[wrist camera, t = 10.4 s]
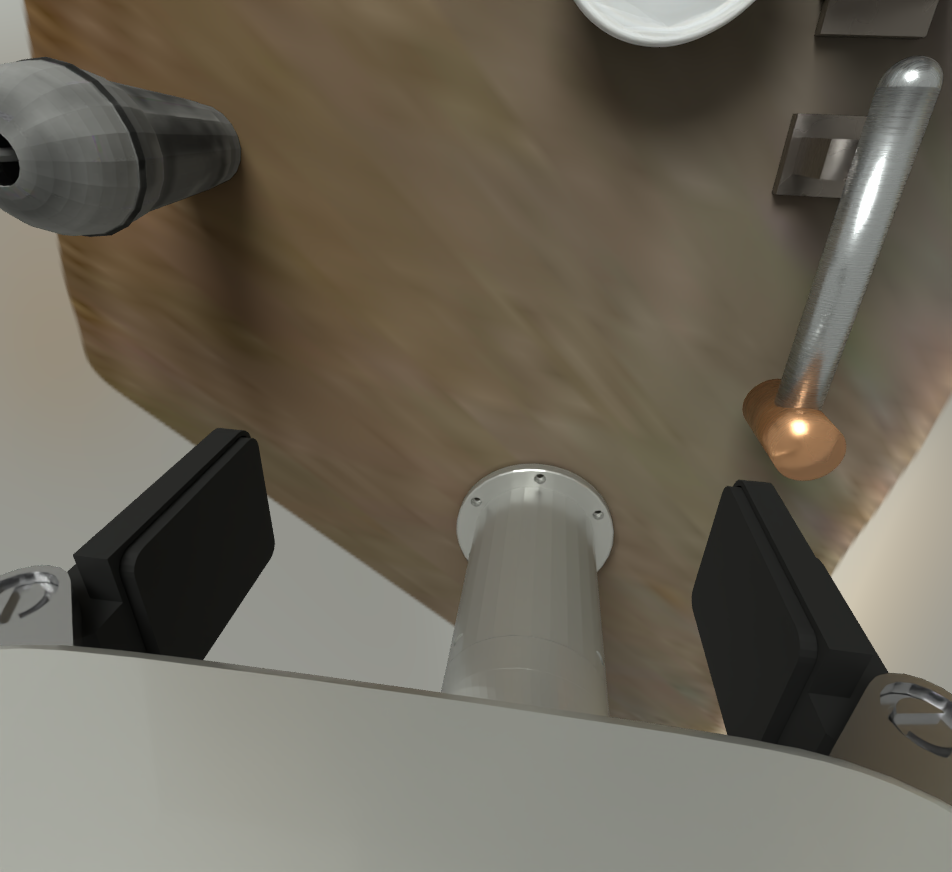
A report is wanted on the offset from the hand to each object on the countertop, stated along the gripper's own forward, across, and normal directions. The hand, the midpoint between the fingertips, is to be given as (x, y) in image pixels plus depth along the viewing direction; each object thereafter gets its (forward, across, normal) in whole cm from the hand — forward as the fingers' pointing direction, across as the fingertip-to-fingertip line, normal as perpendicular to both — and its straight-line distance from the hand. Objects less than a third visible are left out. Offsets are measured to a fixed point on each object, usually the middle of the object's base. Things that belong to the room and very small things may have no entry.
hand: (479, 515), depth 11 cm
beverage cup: (+28, +21, -5) cm, 36 cm away
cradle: (+28, -16, -6) cm, 33 cm away
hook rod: (+25, -16, 0) cm, 30 cm away
